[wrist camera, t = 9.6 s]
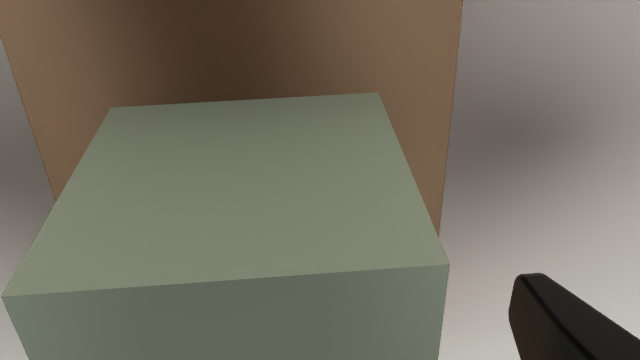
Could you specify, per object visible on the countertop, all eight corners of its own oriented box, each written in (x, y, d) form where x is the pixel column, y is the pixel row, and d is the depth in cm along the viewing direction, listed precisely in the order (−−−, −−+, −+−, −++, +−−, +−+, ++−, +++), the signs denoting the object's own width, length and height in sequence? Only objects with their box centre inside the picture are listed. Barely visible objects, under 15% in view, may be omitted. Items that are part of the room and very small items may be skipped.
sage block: (377, 92, 11) (449, 264, 6) (372, 288, 13) (420, 502, 9) (110, 107, 10) (1, 296, 6) (159, 304, 13) (106, 531, 9)
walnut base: (437, -257, 10) (492, -287, 8) (398, 345, 19) (419, 425, 16) (-8, -246, 10) (-104, -273, 7) (157, 364, 18) (139, 449, 16)
